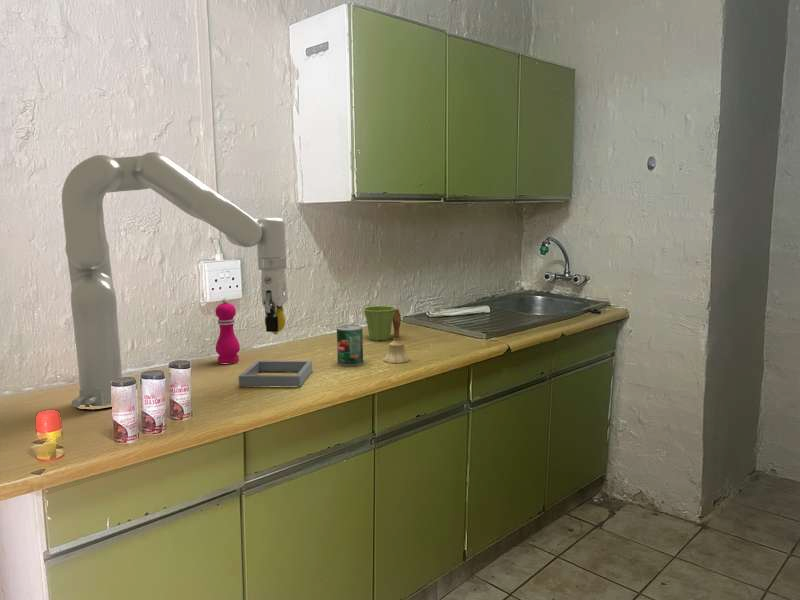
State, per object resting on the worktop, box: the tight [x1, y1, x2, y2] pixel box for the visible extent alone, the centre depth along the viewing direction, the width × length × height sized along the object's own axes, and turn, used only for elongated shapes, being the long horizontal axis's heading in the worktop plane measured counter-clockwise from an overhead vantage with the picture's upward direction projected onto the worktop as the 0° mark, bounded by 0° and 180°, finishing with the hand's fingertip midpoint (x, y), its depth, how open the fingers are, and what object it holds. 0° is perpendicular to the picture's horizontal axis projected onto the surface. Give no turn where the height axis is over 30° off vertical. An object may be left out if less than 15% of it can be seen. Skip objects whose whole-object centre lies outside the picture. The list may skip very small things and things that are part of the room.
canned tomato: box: [336, 324, 364, 367], centre depth 187 cm, size 8×8×11 cm
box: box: [238, 360, 313, 387], centre depth 171 cm, size 16×16×3 cm
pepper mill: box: [215, 297, 241, 364], centre depth 189 cm, size 7×7×20 cm
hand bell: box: [383, 308, 411, 364], centre depth 189 cm, size 8×8×16 cm
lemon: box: [264, 308, 286, 335], centre depth 169 cm, size 6×6×8 cm
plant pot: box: [362, 305, 397, 342], centre depth 219 cm, size 12×12×11 cm
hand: (275, 328), depth 169 cm, fingers closed on lemon, 5 cm apart
